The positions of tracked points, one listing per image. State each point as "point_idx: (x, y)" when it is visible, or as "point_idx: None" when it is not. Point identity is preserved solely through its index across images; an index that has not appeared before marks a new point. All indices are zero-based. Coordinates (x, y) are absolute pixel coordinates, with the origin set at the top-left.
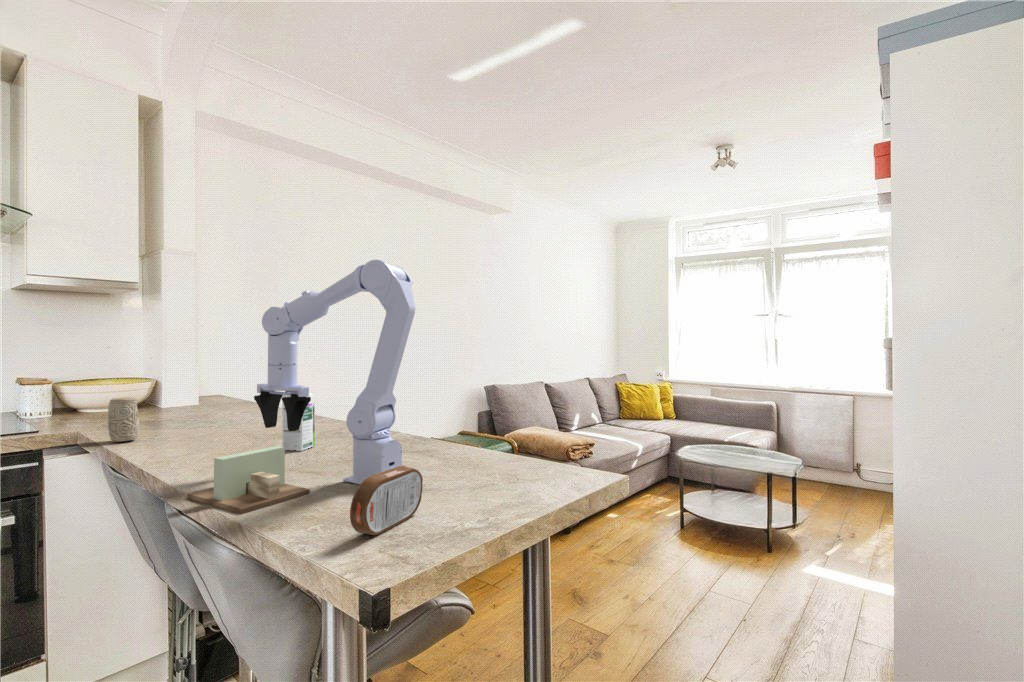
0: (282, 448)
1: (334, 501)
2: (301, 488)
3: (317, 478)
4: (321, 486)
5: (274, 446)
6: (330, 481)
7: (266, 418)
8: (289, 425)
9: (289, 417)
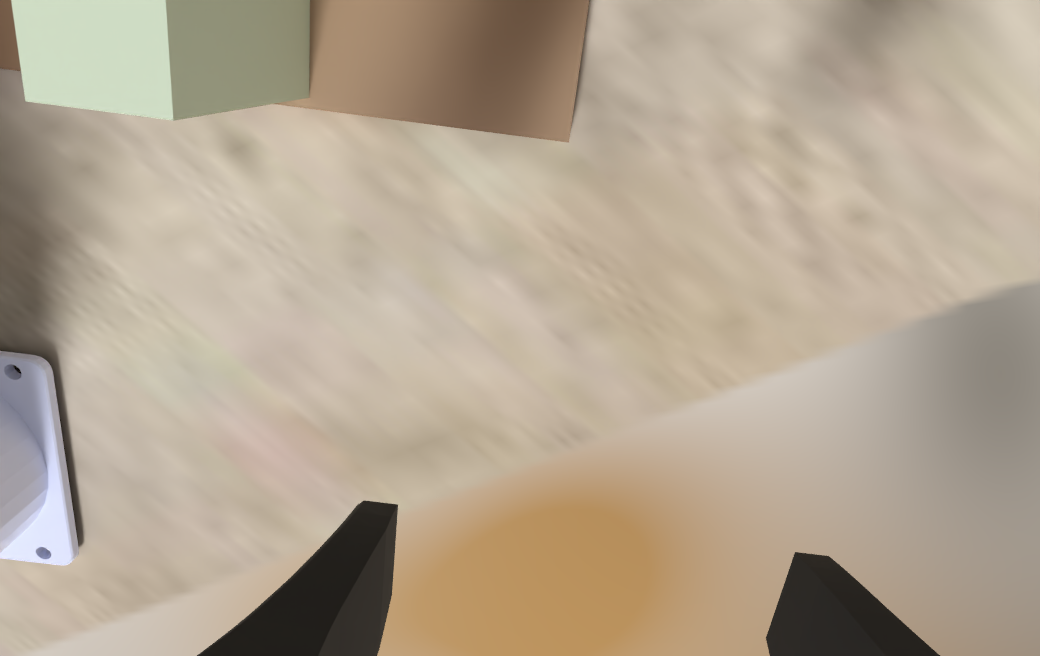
0: (24, 66)
1: None
2: (13, 50)
3: (255, 356)
4: (70, 227)
5: (163, 82)
6: (126, 336)
7: (852, 639)
8: (338, 532)
9: (276, 597)
